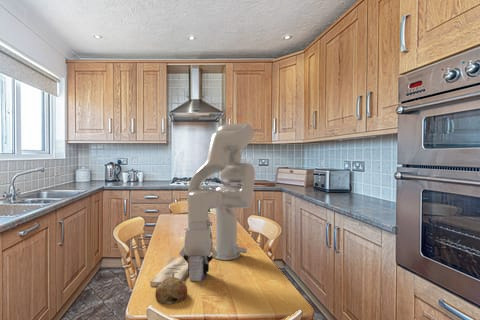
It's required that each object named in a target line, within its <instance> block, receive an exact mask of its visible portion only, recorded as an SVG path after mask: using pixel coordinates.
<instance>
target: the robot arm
mask: <svg viewBox="0 0 480 320" xmlns="http://www.w3.org/2000/svg"><path fill="white" fill-rule="evenodd" d="M253 138H254V127H253V126H252V125H251V124H249V123H228V124H223V125H220V126H219V127H218V128H217V131H215V132H214V133H213V134H212V135H211V138H210V142H209V146H208V150H207V154H206V155H207V156H206V159H205V162H204V164H203V165H202V166H201V167H199V168H198V169H197V171H196V172H194V174H193V176H192V177H191V179H190V182H189V184H188V189H187V195H186V201H187V227H186V230H185V236H184V242H183V243H184V245H183V247H182V249H181V250H180V251H179V253H178V255H180V256H181V258H184V259H185V260H186V261H187V263H188V271H189V258H190V257H191V256H203V257H204V261H205V263H204V275H205V276H206V275H207V274H208V272H209V271H210V265H209V263H210V262H212V260H213V259H216V260H220V261H232V260H235V259H236V260H237V259H238V258H239V257H241V253H243V254H247V252H248V251H247V248H245V247H244V246H242V247H240V246H239V243H238V217H237V213H236V210H234V208H237V209H249V208H250V207H251V205H252V202H253V197H254V187H255V179H256V172H255V167H254V165H252V164H251V163H248V162H242V152H241V151H242V150H244V149H245V148H246V147H247V146H248V145H249V144H250V143H251V142H252V141H253ZM218 173H220V180H221V182H223V183H225V184H234V185H219V186H217V187H216V188H201V187H202V185H203V182H205V180H206V179H208V178H210V177H212V176H213V175H216V174H218ZM235 184H239V185H240V186H239V185H235ZM211 209H212V210H213V209H215V210H214V211H215V247H214V246H213V234H212V229H211V227H210V226H213V221H210V219H209V210H211Z"/></svg>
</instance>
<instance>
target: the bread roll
mask: <svg viewBox="0 0 480 320" xmlns="http://www.w3.org/2000/svg"><path fill="white" fill-rule="evenodd" d="M187 296H188V285H187V284H186V282H184V280H183V281H182V280H180V279H179V278H176V277H169V278H167V279H165V280H164V281H163V282H162V283H161V284H159V285H158V286H156V289H155V296H154V297H155V299H156V301H158V302H160V303H162V304H163V305H165V304H167V305H172V304H175V303H179V302H182V301H184V300H186V298H187Z"/></svg>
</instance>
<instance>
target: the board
mask: <svg viewBox="0 0 480 320" xmlns="http://www.w3.org/2000/svg"><path fill="white" fill-rule="evenodd" d="M187 275H189V271H188V263H187V261H186V260H185V259H184V258H183V257H172V258H171V259H170V260H169V261H168V262H167V263H166V264H165V265H164V267H162V268H161V270H160V271H158V272H157V274H156V275H155V276H154V277H153V278H152V279H151V280H150V283H149V285H150V286H151V287H158V285H159V284H161V283H162V282H163V281H164V280H165V279H167V278H169V277H176V278H179V279H180V280H182V281H183V282H184V280H185V278H186V277H187Z"/></svg>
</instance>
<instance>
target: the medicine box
mask: <svg viewBox="0 0 480 320" xmlns="http://www.w3.org/2000/svg"><path fill="white" fill-rule="evenodd" d="M204 263H205V261H204V257H203V256H191V257H190V258H189V272H188V275H189V276H188V277H189V279H188V280H189V281H191V282H192V281H193V282H202V280H203V279H204V278H205V276H206V275H204Z"/></svg>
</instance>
